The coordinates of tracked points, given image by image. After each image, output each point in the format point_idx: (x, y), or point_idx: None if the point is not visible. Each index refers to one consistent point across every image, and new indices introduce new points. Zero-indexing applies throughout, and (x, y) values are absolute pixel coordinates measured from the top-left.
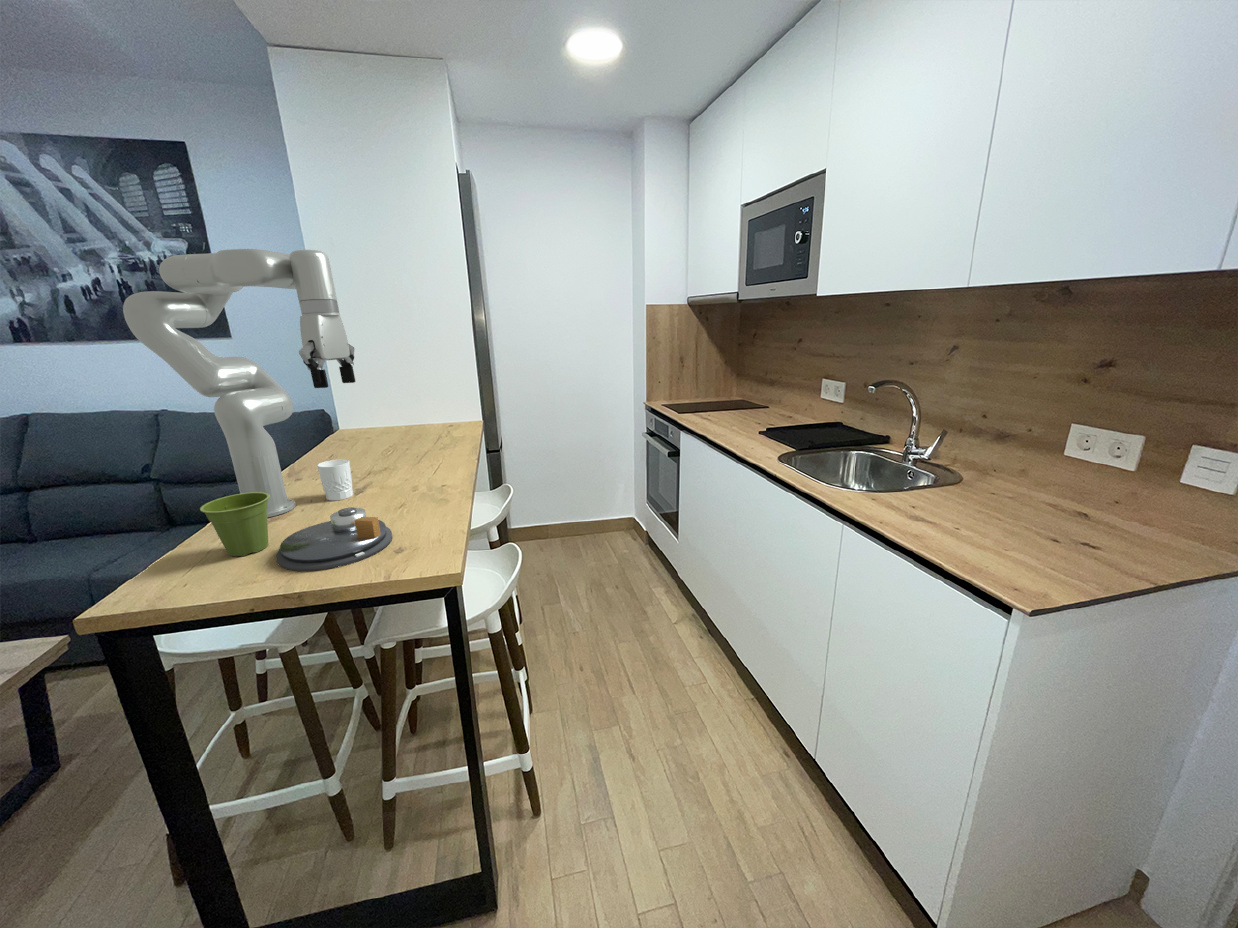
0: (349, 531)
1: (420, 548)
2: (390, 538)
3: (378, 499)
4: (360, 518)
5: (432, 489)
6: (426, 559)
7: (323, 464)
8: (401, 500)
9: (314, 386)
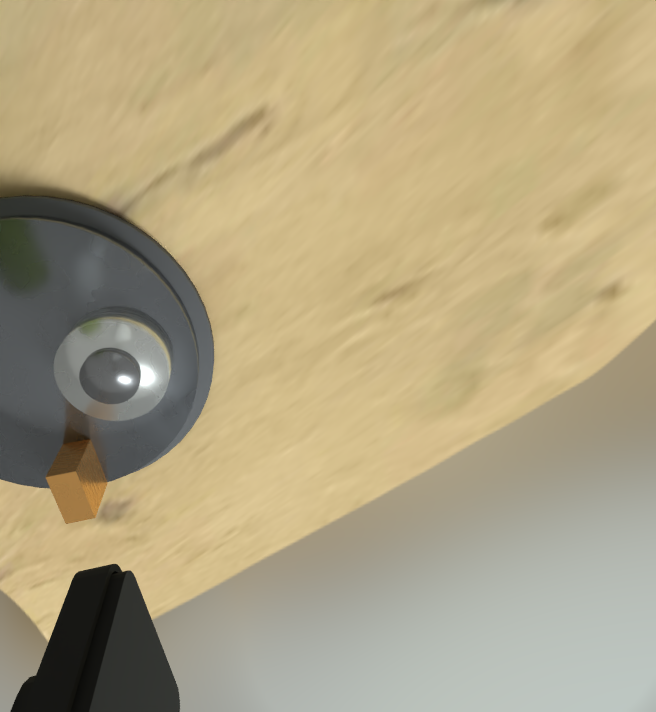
0: None
1: (143, 544)
2: (146, 464)
3: (447, 150)
4: (65, 480)
5: (569, 279)
6: None
7: None
8: (448, 250)
9: (74, 589)
